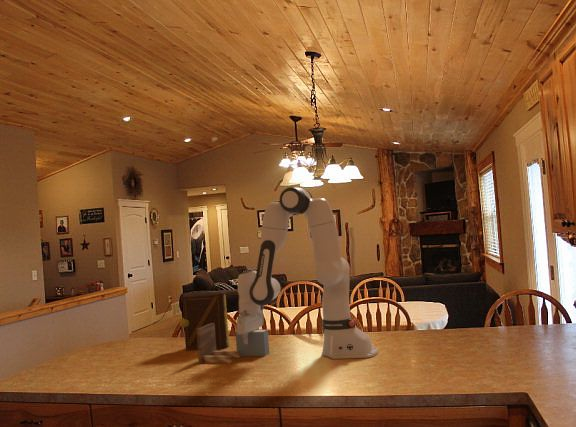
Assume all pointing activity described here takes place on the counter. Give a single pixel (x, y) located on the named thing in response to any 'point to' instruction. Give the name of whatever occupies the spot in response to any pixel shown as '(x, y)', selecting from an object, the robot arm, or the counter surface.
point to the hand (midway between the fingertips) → (251, 341)
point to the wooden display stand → (212, 347)
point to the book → (205, 317)
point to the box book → (253, 343)
